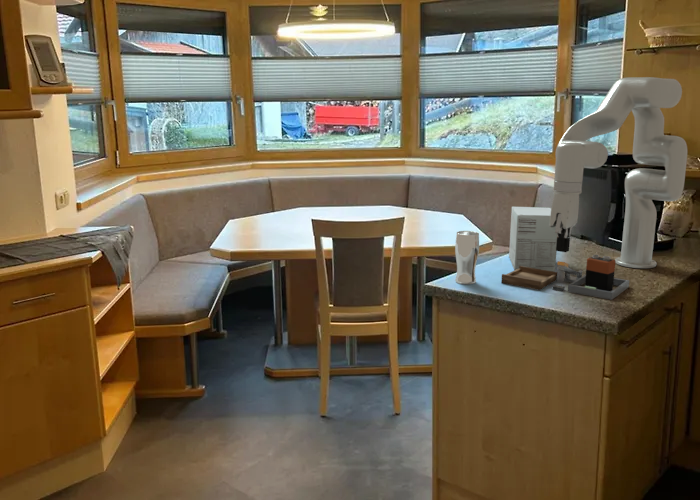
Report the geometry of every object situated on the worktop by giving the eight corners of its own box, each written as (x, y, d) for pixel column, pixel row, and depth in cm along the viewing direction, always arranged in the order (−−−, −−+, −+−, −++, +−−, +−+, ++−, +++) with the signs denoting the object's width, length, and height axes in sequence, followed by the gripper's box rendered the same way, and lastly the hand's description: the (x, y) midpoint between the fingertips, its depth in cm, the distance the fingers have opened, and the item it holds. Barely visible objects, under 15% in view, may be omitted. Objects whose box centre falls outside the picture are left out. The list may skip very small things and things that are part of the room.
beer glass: (472, 286, 197) (474, 236, 194) (450, 282, 201) (452, 233, 197) (480, 280, 203) (483, 232, 200) (459, 277, 207) (461, 229, 203)
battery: (605, 293, 191) (609, 259, 189) (583, 288, 196) (586, 255, 193) (613, 290, 194) (616, 256, 191) (591, 285, 199) (594, 252, 196)
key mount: (567, 278, 206) (568, 267, 205) (582, 281, 203) (583, 270, 202) (549, 288, 195) (550, 277, 194) (565, 291, 192) (565, 280, 191)
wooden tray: (519, 273, 211) (520, 265, 210) (556, 280, 204) (557, 272, 203) (501, 282, 201) (501, 274, 200) (539, 290, 194) (540, 281, 193)
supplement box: (556, 272, 213) (560, 216, 209) (513, 270, 215) (516, 215, 211) (547, 259, 230) (551, 206, 226) (507, 257, 232) (511, 205, 227)
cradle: (586, 279, 204) (587, 272, 204) (628, 287, 197) (629, 279, 197) (567, 291, 192) (568, 283, 192) (611, 299, 185) (612, 291, 184)
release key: (569, 274, 203) (571, 267, 203) (576, 275, 202) (577, 268, 202) (556, 268, 193) (557, 261, 193) (563, 269, 192) (564, 262, 192)
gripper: (564, 183, 196) (559, 245, 200) (544, 188, 185) (539, 253, 189) (590, 185, 192) (584, 248, 196) (571, 191, 180) (565, 257, 184)
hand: (562, 251), depth 192 cm, fingers closed
